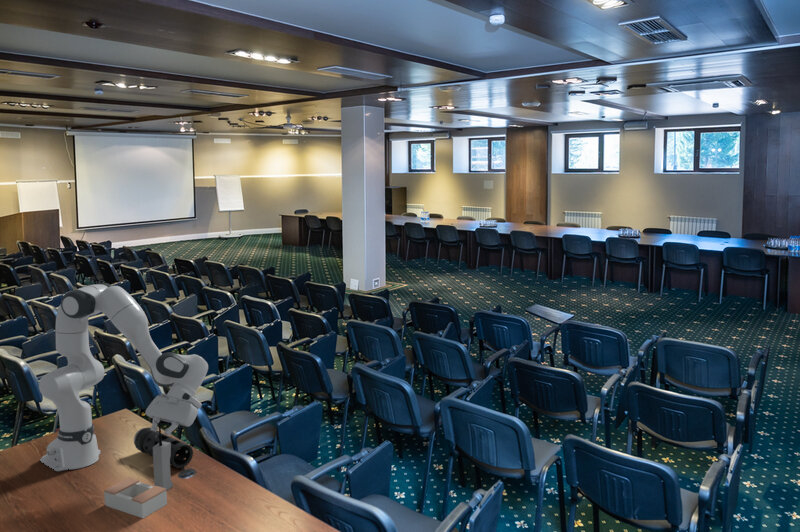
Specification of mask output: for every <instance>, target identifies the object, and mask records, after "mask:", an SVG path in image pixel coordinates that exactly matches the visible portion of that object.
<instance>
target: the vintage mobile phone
mask: <svg viewBox="0 0 800 532" xmlns="http://www.w3.org/2000/svg"><path fill="white" fill-rule="evenodd" d="M161 425H162V423H161V422H159V423H158V431H159V444H157V445H155V446H153V456H152V457H153V458H152V459H153V460H152V462H153V479H154V481H153V482H154V486H159V487H162V488H165V489H166V492H167V491H169V490H170V489H172V488H173V486H174V484H173V482H172V479H171V478H172V477H171V465H170V457H171V443H169V442H163V441H162V436H161V433H162V427H161Z"/></svg>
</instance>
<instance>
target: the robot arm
mask: <svg viewBox="0 0 800 532" xmlns="http://www.w3.org/2000/svg"><path fill="white" fill-rule="evenodd" d="M99 313H103V314H104V315H105V316H106V317H107V318H108V319H109V321H110V322H111V324H113V326H114V327H115V328H116V329H117V330H118V331H119V332H120V333H121V334H122V335H123V336H124V337H125V338H126V339H127V340H128V341H129V342H130V344H132V345H133V347H134V348H135V349H136V351H137V352H138V353H139V355H140V356H141V357H142V359H143V360H144V361H145V363H146V364H147V366H148V367H149V370H150V373H151V378H152V379H153V382H154V384H155V385H158V387H161V388H170V389H169V390H168V392H167V393H160V394H157V395H156V396H155V397H154V399H153V400H152V401H151V402H150V403H149V405H148V406H147V408H146V410H145V415H146V416H147V417H148V418H150V419H152V425H151V427H149V428H150V430H151V431H154V432H156V431H158V430H159V426H158V425H159V423H161V421H163V422H167V423H171V425H170V426H169V427H167V428H165V430H164V432H163V434H165V435H167V436H171V434H172V433H173V432H174V431H175V430H176V429H177V428H178V427H179V425H180V426H184V427H187V428H188V427H190V426H192V425H193V424H194V421H195V420H196V418H197V416H198V414H199V409H201V408H202V405H203V404H202V403H201V402H200V400H198V399H197V398H196V395H197V390H198V389H199V387H201V385H202V384H203V382H204V380H205V377H206V376H207V373H208V371H209V364H208V361H206V359H205V358H204V357H202V356H201V355H198V354H194V353H193V354H178V353H176V352H171V351H168V352H164V353H162V352H161V351H160V349H159V348H158V347H157V345H156V344H155V342H154V341H153V339H152V336H151V334H150V328H149V320H148V317H147V314H146V313H145V311H144V310H143V308H142V307H141V306H140V304H139V303H138V302H137V300H136V299H135V298H133V297H132V294H129V292H127V291H126V290H125V289H124V288H123V287H121V286H119V285H112V284H110V283H107V282H106V283H105V282H104V283H101V282H100V283H97V284H90V285H89V284H88V285H85V286H83V287H79V288H77V289H72V290H70V291H68V292H66V293H65V294H64V295H63V296H62V297H61V301H60V305H58V307H57V311H56V315H55V316H56V317H55V350H56V352H57V353H58V354H59V355H61V356H63V357H66V361H67V365H66V366H62V367H58V368H56V369H54V370H51V371H49V372H47V373H46V374H44V375H43V376H41V377H40V380H39V382H38V383H39V384H38V389H39V393H40V394H41V395H42V396H43V397H44V398H45V399H46V400H49V401H51V402H52V403H53V404H54V405H55V407H56V410H57V414H58V419H59V420H58V422H59V428H56V429H55V432H56V433H57V435H56V438H54V439H53V440H52V441H51V442H50V443H49V444H48V445H47V446H46V454H44V455H43V456H42V457H41V458H40V459H39V462H40V461H41V463H42V464H43V463H44V465H45V466H47V467H48V466H49V467H48V468H50V469H51V468H52V469H51V470H53V469H54V470H53V471H55V472H62V471H67V470H68V469H69V470H78V469H82V468H85V467H88V466H91V465H94V464H95V463H96V462H98V460H99V459H100V454H101V449H99V448H98V441H97V440H98V439H97V436H96V434H95V427H94V423H93V418H92V416H93V415H92V406H91V405H90V403H88V402H87V401H85V400H82V399H81V398H80V392H82V391H85V390H87V389H90V388H92V387H94V386H95V385H97V384H99V383H100V382H102V380H103V379H104V377H105V367H104V365H103V364H102V362H100V361H99V360H98V359H96V358H95V357H94V356H93V354H92V352H91V349H90V339H89V318H90V317H91V316H95V315H97V314H99Z"/></svg>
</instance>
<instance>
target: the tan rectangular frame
mask: <svg viewBox="0 0 800 532" xmlns="http://www.w3.org/2000/svg"><path fill="white" fill-rule="evenodd" d="M103 493H104V495H103V496H104V506H105V505H106V506H105V507H108V508H111V509H114V510H117V511H120V512H122V513H123V512H124V513H126V514H129V515H132V516H135V517H138V518H140V519H144V518H146V517H149V516H150V515H152V514H153V513H155V512H157V511H158V510H160V509H162V508H164V507H165V506H167V505H168V499H167V498H168V497H167V494H168V493H167V491H166V489H165V488H162V487H159V486H155V485H154V486H153V485H149V484H146V483H144V482H140V480H138V479H135V478H132V477H127V478H125V479H123V480H121V481H119V482H116V483H115V484H113V485H111V486H109V487H107V488H105V489H104V490H103Z"/></svg>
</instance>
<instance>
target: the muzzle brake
mask: <svg viewBox="0 0 800 532" xmlns="http://www.w3.org/2000/svg"><path fill="white" fill-rule="evenodd" d="M150 428H151V427H143V428H142V427H141V428H140V429H138V430H137V431H136V433H135V435H134V437H133V443H134V444H133V445H134V446H135V448H136V449H137V451H140V452H141V453H143V454H144V453H145V454H148V455H150V456H151V457H153V446H155V445H157V444H159V430H157V431H156V432H154V431H151V430H150ZM161 436H162V441H163V442H169V443H171V457H170V466H172V467H174V468H176V469H179V470H184V469H185V467H186V466H188V465H189V464H190V462H191V461H192V459H193V456H194V450H193V448H192V446H191V445H190V444H187V443H185V442H183V441H182V440H181V441H180V440H178V439H176V438H173V437H171V436H170V435H166V434H165V433H162V432H161Z"/></svg>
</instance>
